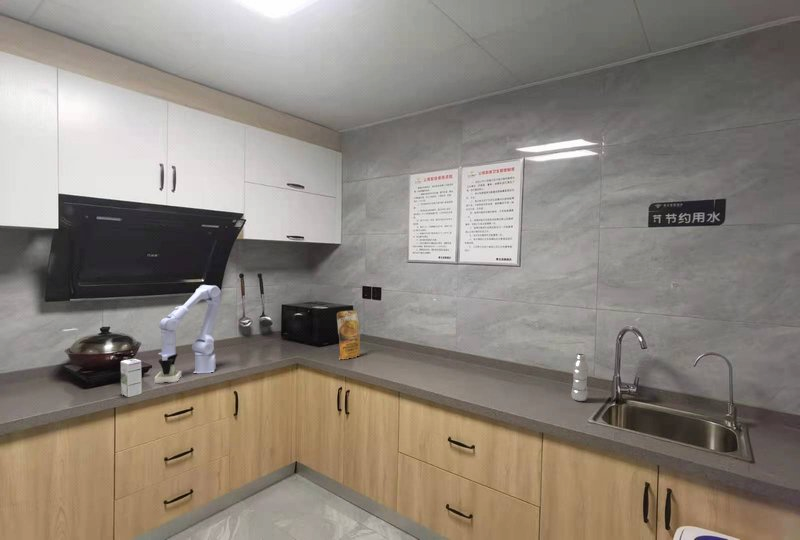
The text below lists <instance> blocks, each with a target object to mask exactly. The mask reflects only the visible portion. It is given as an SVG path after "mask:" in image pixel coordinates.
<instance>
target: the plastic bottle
mask: <svg viewBox="0 0 800 540" xmlns="http://www.w3.org/2000/svg"><path fill="white" fill-rule="evenodd" d="M586 359H587V358H586V354H585V353H576V357H575V360H574V362H573V363H572V374H573V376H572V377H573V382H572V388H571V392H570V393H571V398H572V399H573V400H574V401H577V402H585V401H586V400H587V399H588V396H589V395H588V387H587V386H588V385H587V384H588V383H587V381H588V380H587V379H588V373H589V365H588V362H586Z"/></svg>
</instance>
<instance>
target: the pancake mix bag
mask: <svg viewBox="0 0 800 540" xmlns="http://www.w3.org/2000/svg"><path fill="white" fill-rule="evenodd" d="M336 322H337V323H336V324H337V334H338V338H339V346H338V347H339V357H338V360H339V361H341V360H340V359H347V360H350V359H349V358H352V359H354V358H353V357H356V358H358V357H357V356H359V357H360V355H361V354H360V348H361V347H360V346H361V345H360V342H361V341H360V338H361V337H360V334H361V331H360V320H359V313H358V310H357V309H352V310H342V311H337V313H336Z"/></svg>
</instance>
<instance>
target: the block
mask: <svg viewBox="0 0 800 540" xmlns="http://www.w3.org/2000/svg"><path fill="white" fill-rule="evenodd" d="M175 366H176V364H175V363H174V364H173V365H171V367H170V372H169V374H165V375H164V374H163V370H162V369H161V372H162V377H163V376H175V371H176V370H175V369H176V368H175Z"/></svg>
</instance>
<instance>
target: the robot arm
mask: <svg viewBox="0 0 800 540" xmlns="http://www.w3.org/2000/svg"><path fill="white" fill-rule="evenodd" d="M221 293H222V291H221V289H220V288H219V287H218V286H217V285H207V284H201V285H200V286H199V287H198V288H196V289H195V292H194V293H193V294H192V295H191V296H190V297H189V298H188V299H187V301H185V303H184V304H183V305H179V306H175V307H174V310H173V311H172V312H171V313H170V314H168V315H166V317H164V318H162V319H160V322H159V323H158V327H159V328H160V331H161V352H158V355H159V356H161V359H158V362H159V364H160V366H161V371H162V370H163V374H164V375H165V374H169V372H170V367H171V365H173V364H175V362H176V360H177V357H178V353H176V330H177V329H178V327H179V324H180V323H181V322H182V321H183V320H184V319H185V317H187V316H188V315H189V310H191V308H193V307H194V306H195V305H196V304H198V303H199V302H201V300H204V301H206V303H207V304H208V305H207V309H206V313H205V315H204V318H203V319H204V320H203V322H202V327H201V330H200V333H199V335H197V336H196V337H195V340H194V341H193V343H192V345H191V350H192V351H193V352H194V371H193V372H192V374H193V373H197V374H210V373H211V372H213V373H214V372H215V370H216V362H217V361H216V353H213V351H214V349H215V344H214V343H215V339H214V338H213V333H214V329H215V325H216V322H217V318H218V314H219V310H220V306H221V303H222V302H221ZM211 374H212V373H211Z"/></svg>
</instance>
